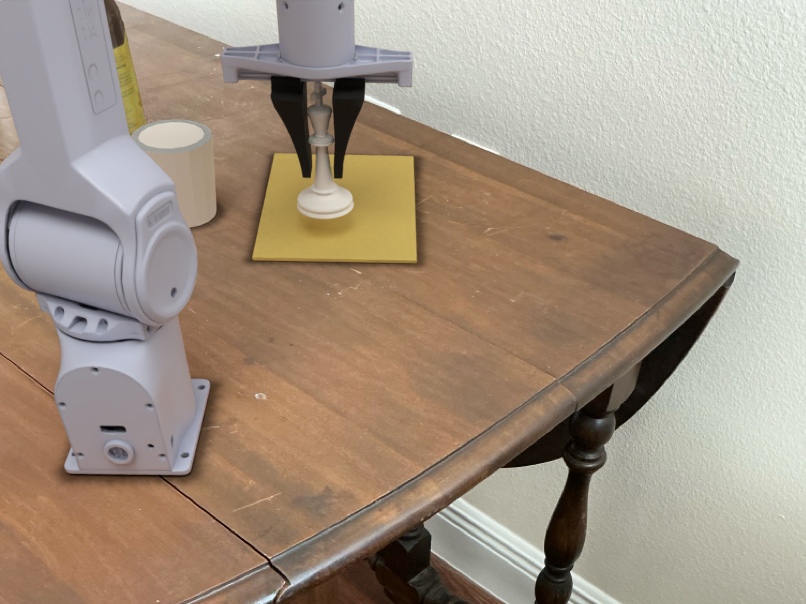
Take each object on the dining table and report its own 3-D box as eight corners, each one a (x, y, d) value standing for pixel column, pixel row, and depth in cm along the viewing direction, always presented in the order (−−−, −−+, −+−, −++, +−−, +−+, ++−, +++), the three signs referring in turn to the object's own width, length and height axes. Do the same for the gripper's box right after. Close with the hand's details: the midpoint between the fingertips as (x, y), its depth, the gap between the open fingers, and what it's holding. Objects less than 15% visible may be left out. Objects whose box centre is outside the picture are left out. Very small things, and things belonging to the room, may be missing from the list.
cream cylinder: (207, 235, 74) (194, 156, 69) (134, 226, 75) (116, 146, 70) (233, 199, 79) (223, 122, 73) (164, 191, 79) (149, 113, 74)
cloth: (416, 263, 72) (416, 260, 72) (252, 260, 72) (252, 257, 71) (413, 158, 85) (413, 155, 85) (274, 155, 85) (274, 152, 85)
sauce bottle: (166, 155, 84) (120, -87, 69) (128, 181, 80) (72, -70, 66) (112, 142, 86) (57, -97, 71) (73, 168, 82) (6, -80, 67)
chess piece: (286, 211, 73) (273, 87, 65) (316, 187, 75) (307, 66, 68) (335, 224, 71) (328, 99, 64) (364, 200, 74) (360, 78, 66)
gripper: (413, -27, 64) (408, 153, 74) (221, -32, 63) (242, 150, 74) (415, 3, 59) (409, 191, 69) (207, -2, 59) (232, 188, 69)
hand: (323, 173), depth 71 cm, fingers closed on chess piece
